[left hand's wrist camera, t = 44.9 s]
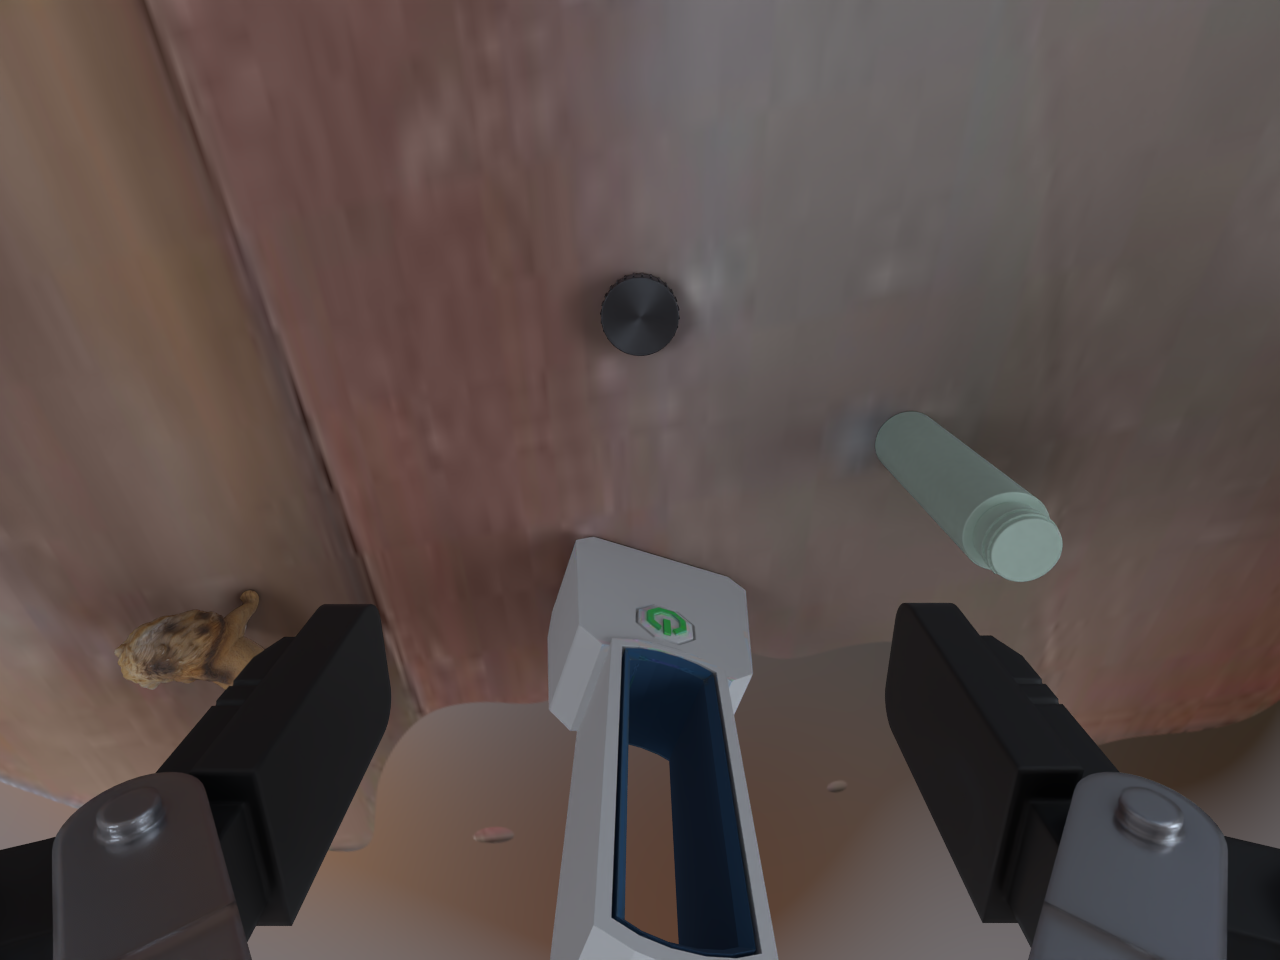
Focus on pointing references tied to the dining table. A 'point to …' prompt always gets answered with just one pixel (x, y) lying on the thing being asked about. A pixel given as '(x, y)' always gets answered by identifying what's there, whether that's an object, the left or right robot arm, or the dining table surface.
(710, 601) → the electronic device
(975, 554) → the pale green tube
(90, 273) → the dining table surface
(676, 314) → the lid
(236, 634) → the lion figurine
